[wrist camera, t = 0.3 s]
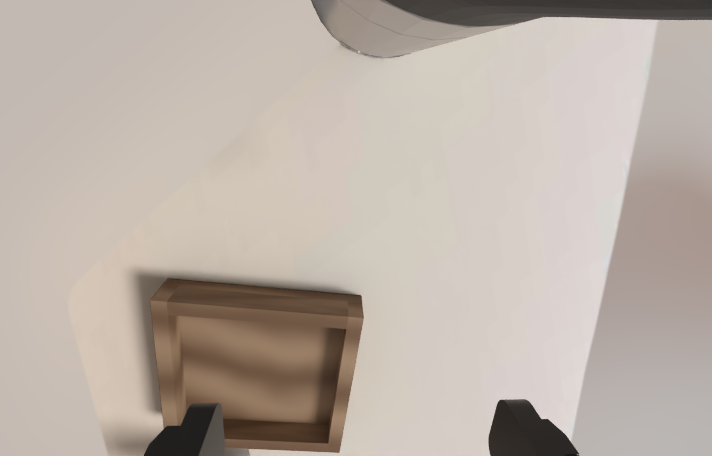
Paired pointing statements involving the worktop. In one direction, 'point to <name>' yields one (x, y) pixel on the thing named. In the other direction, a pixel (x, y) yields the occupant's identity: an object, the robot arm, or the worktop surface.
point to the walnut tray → (258, 360)
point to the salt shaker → (236, 452)
